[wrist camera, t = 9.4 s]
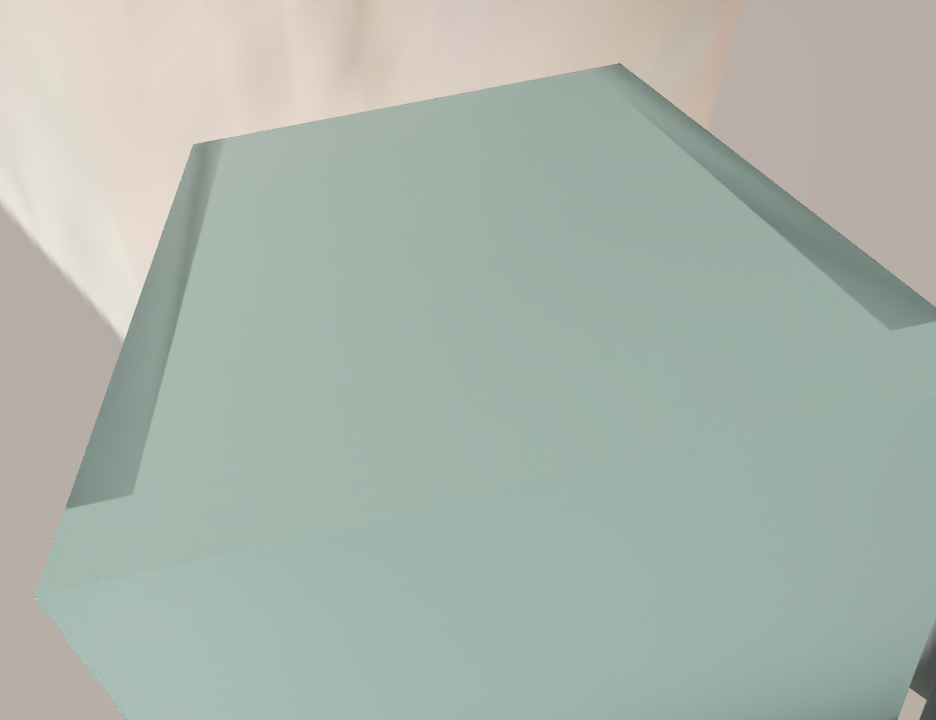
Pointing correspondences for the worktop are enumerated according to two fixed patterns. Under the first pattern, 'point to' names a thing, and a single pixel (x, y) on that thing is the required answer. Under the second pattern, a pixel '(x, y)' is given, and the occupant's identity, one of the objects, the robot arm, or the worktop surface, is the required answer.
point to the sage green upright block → (505, 432)
